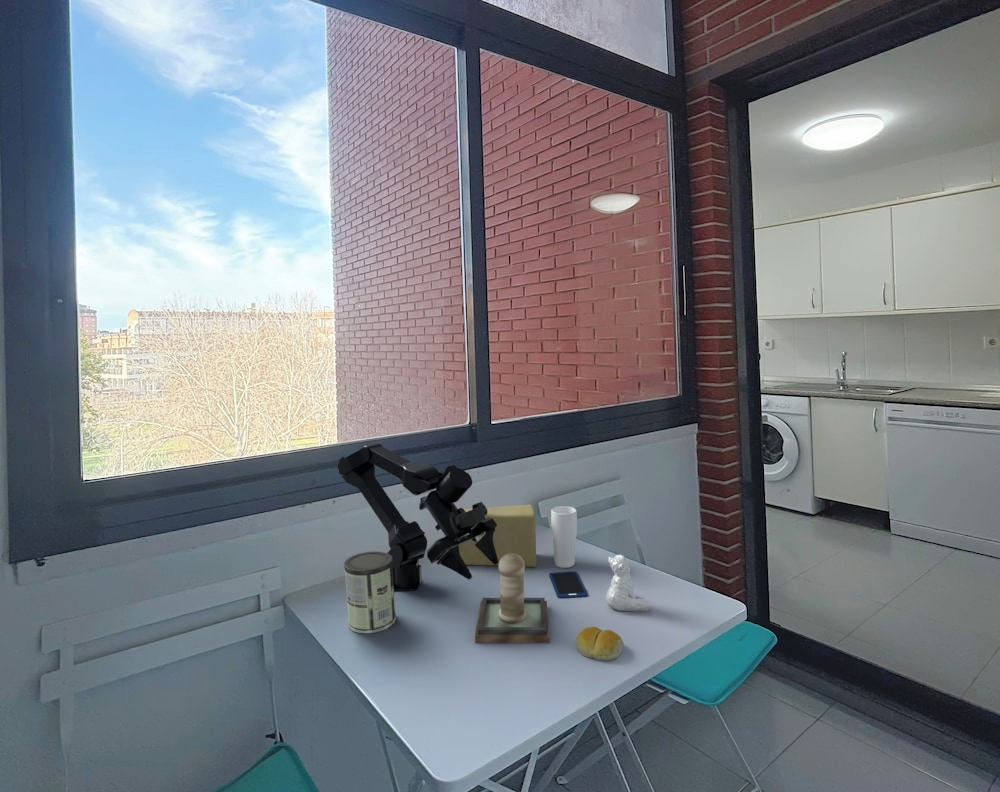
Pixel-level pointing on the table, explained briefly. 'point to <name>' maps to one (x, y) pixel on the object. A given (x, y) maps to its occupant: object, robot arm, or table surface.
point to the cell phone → (567, 584)
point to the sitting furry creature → (623, 588)
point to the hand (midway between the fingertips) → (484, 571)
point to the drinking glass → (564, 535)
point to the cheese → (506, 536)
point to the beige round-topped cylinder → (512, 588)
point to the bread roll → (599, 643)
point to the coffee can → (370, 592)
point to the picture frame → (502, 632)
